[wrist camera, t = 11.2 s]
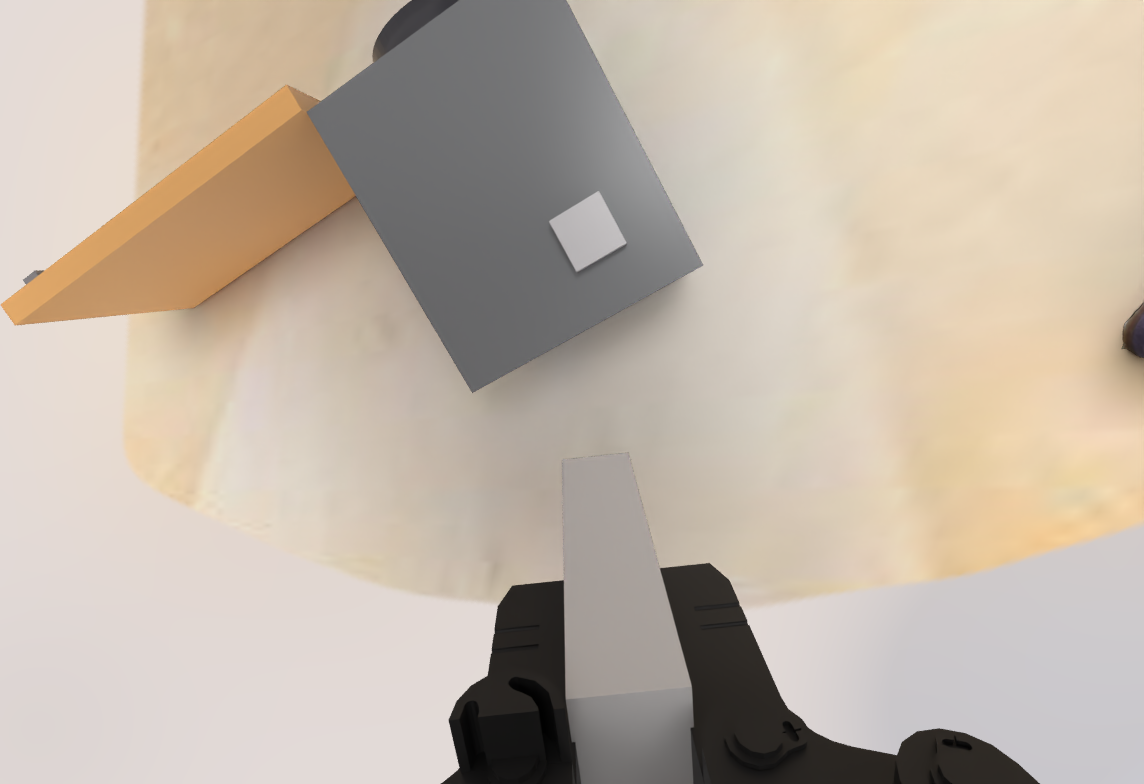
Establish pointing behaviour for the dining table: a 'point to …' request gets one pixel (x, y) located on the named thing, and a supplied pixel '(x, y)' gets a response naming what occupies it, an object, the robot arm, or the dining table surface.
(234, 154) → the side door
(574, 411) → the dining table surface
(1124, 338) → the flask
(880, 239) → the dining table surface
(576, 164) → the block
